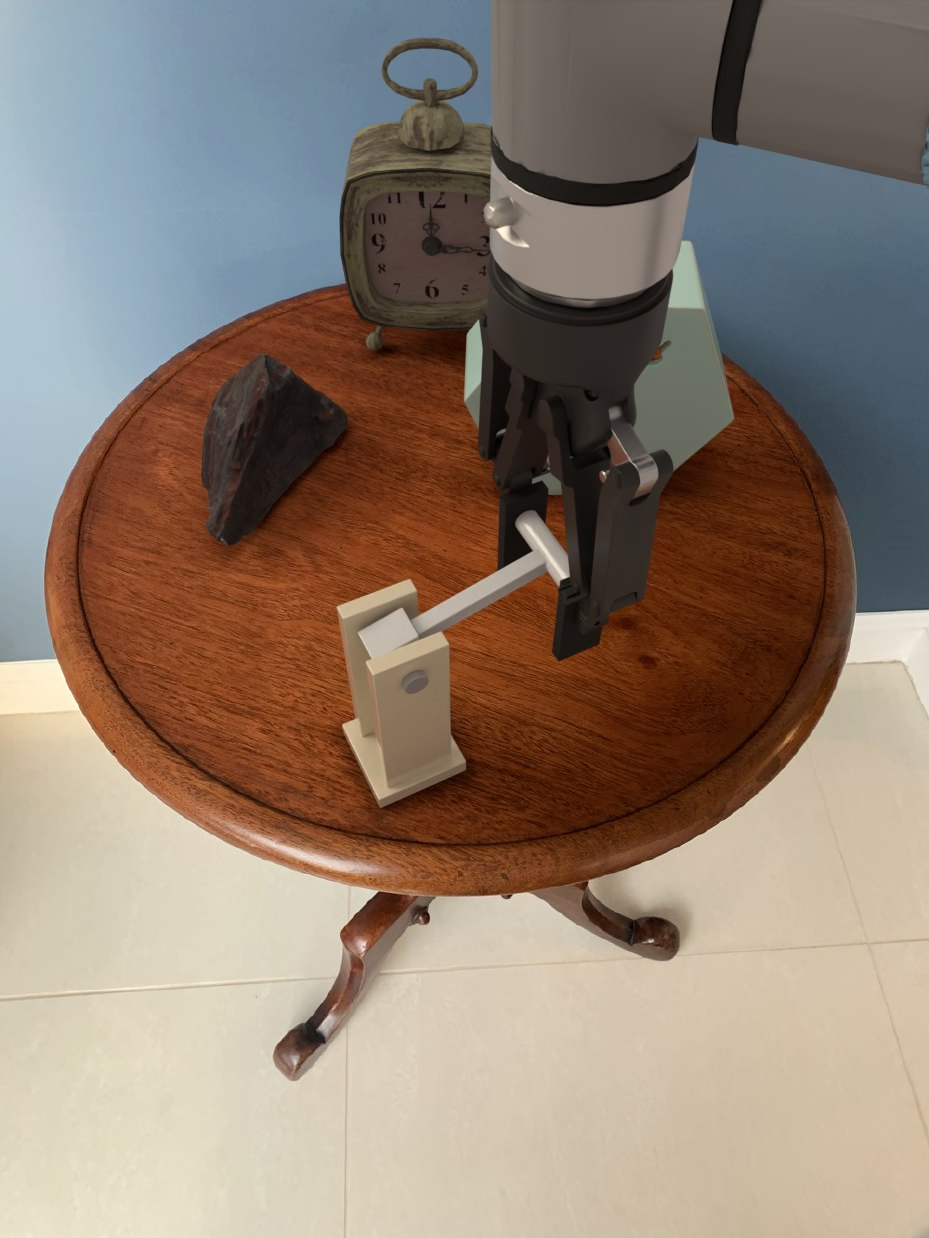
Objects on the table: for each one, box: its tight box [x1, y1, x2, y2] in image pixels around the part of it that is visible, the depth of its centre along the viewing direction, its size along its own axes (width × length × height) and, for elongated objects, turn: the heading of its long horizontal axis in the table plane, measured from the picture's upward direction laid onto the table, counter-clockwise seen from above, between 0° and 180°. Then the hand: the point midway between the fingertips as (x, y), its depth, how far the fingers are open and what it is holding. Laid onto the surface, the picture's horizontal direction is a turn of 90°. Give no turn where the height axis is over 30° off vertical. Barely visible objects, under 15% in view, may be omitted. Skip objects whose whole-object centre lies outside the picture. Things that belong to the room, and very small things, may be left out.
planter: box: [463, 240, 735, 496], centre depth 72 cm, size 17×8×21 cm
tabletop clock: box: [338, 37, 492, 352], centre depth 79 cm, size 14×9×25 cm, turn 89°
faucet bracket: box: [336, 578, 467, 809], centre depth 57 cm, size 6×6×14 cm
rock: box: [200, 352, 351, 547], centre depth 74 cm, size 7×18×9 cm, turn 152°
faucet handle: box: [358, 510, 570, 659], centre depth 54 cm, size 12×6×2 cm, turn 117°
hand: (546, 605), depth 58 cm, fingers closed on faucet handle, 6 cm apart
